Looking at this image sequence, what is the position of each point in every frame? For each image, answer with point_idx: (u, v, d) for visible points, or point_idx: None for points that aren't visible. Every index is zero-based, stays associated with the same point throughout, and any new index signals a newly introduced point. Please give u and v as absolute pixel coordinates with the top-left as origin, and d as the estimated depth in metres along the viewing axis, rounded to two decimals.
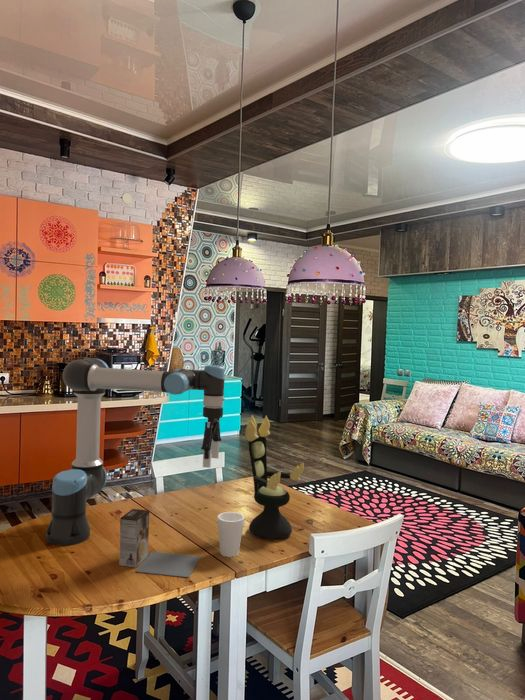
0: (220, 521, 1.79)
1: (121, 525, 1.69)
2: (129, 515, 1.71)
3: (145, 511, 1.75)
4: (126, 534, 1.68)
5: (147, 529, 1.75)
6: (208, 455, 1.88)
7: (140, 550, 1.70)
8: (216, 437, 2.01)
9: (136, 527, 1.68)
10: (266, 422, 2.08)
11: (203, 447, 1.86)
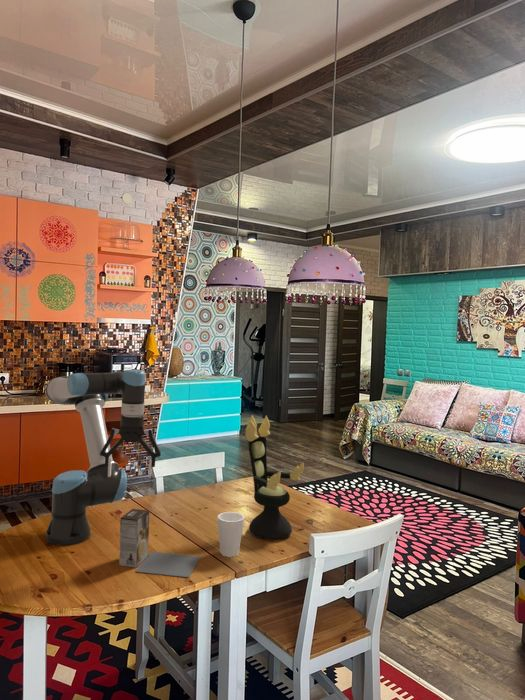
0: (220, 521, 1.79)
1: (122, 525, 1.69)
2: (129, 515, 1.71)
3: (145, 511, 1.75)
4: (126, 534, 1.68)
5: (147, 529, 1.75)
6: (106, 463, 1.77)
7: (140, 550, 1.70)
8: None
9: (136, 527, 1.68)
10: (266, 422, 2.08)
11: None
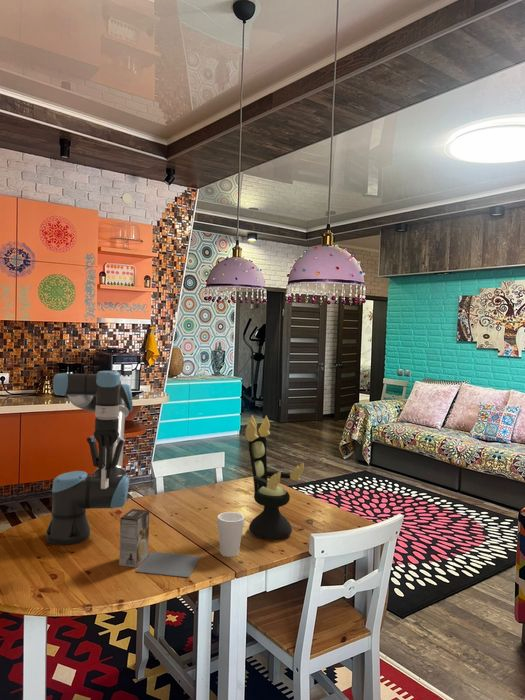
0: (220, 521, 1.79)
1: (122, 525, 1.69)
2: (129, 515, 1.71)
3: (145, 511, 1.75)
4: (126, 534, 1.68)
5: (147, 529, 1.75)
6: (100, 474, 1.73)
7: (140, 550, 1.70)
8: None
9: (136, 527, 1.68)
10: (266, 422, 2.08)
11: None
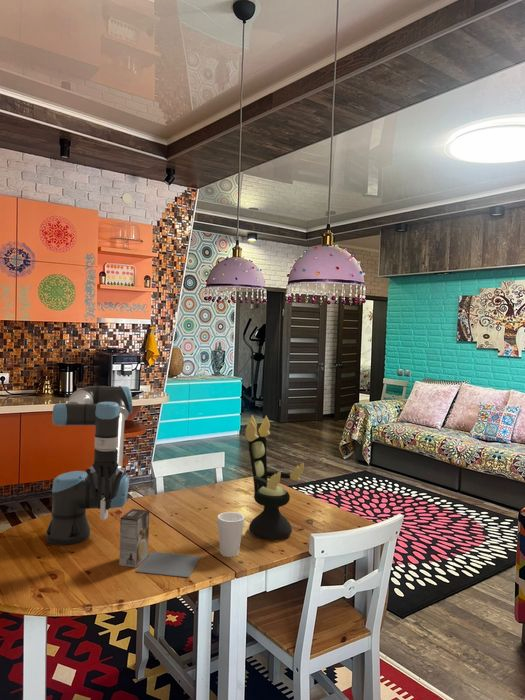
0: (220, 521, 1.79)
1: (122, 525, 1.69)
2: (129, 515, 1.71)
3: (145, 511, 1.75)
4: (126, 534, 1.69)
5: (147, 529, 1.75)
6: (99, 505, 1.73)
7: (140, 550, 1.70)
8: None
9: (136, 527, 1.68)
10: (266, 422, 2.08)
11: None
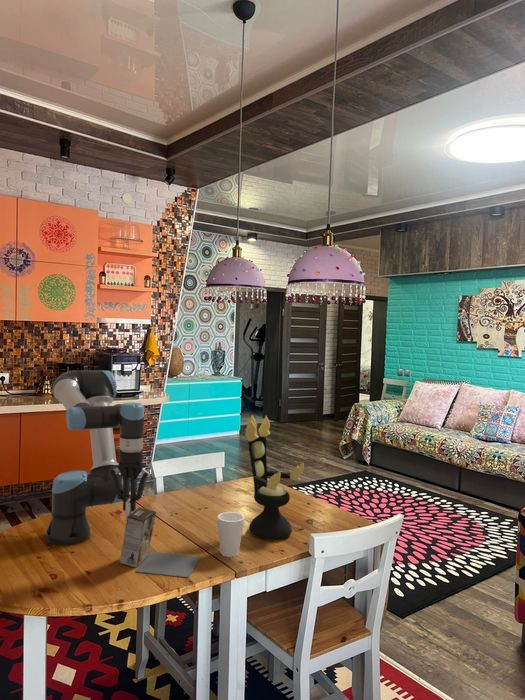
0: (220, 521, 1.79)
1: (127, 524, 1.68)
2: (136, 514, 1.70)
3: (152, 512, 1.75)
4: (131, 533, 1.68)
5: (151, 530, 1.75)
6: (124, 507, 1.72)
7: (142, 550, 1.70)
8: None
9: (142, 528, 1.67)
10: (266, 422, 2.08)
11: None
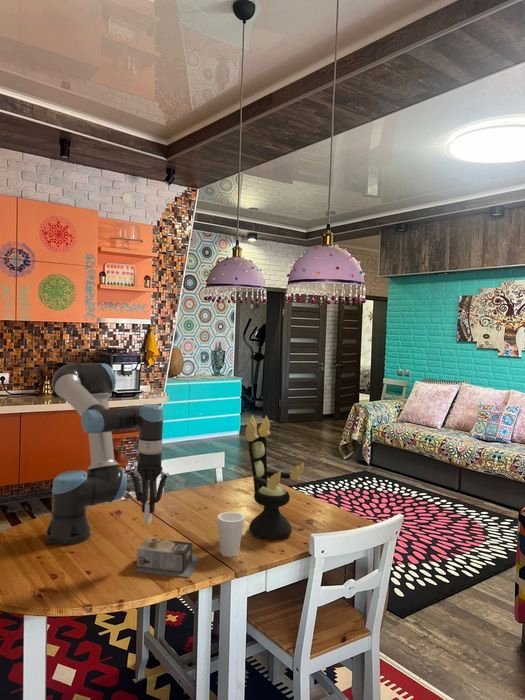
0: (220, 521, 1.79)
1: (176, 555, 1.66)
2: (186, 556, 1.68)
3: (191, 559, 1.73)
4: (168, 559, 1.66)
5: None
6: (143, 509, 1.71)
7: None
8: None
9: (176, 570, 1.66)
10: (266, 422, 2.08)
11: None
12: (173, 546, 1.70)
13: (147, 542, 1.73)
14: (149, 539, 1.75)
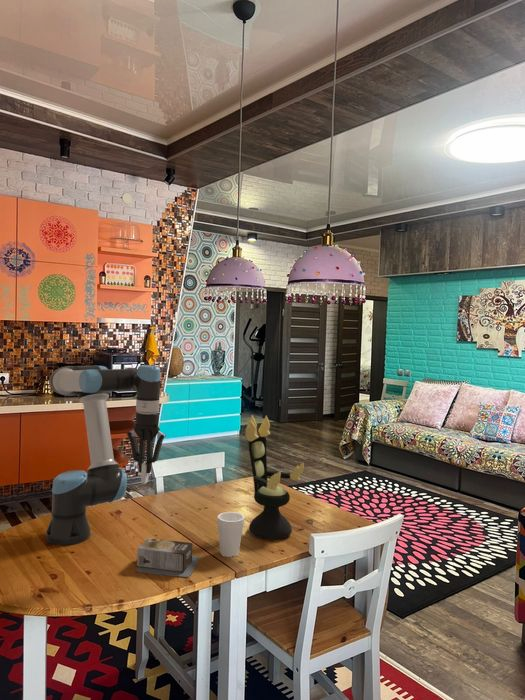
0: (220, 521, 1.79)
1: (176, 554, 1.66)
2: (186, 555, 1.68)
3: (191, 560, 1.73)
4: (168, 558, 1.66)
5: None
6: (140, 469, 1.72)
7: None
8: None
9: (176, 570, 1.66)
10: (266, 422, 2.08)
11: None
12: (173, 546, 1.70)
13: (148, 542, 1.73)
14: (149, 539, 1.75)
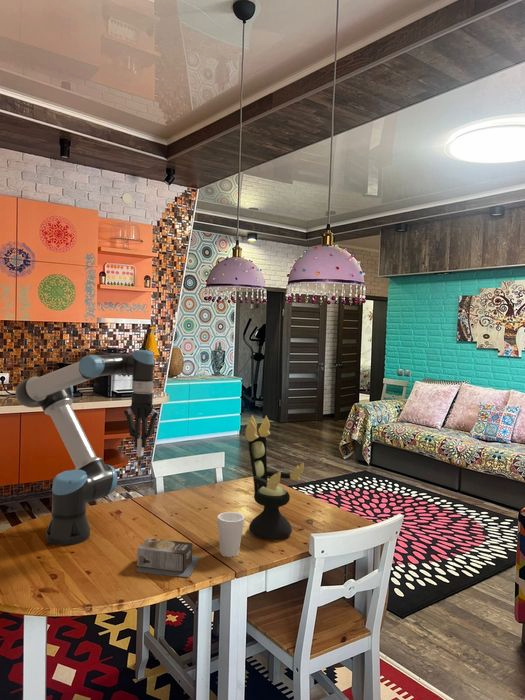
0: (220, 521, 1.79)
1: (176, 554, 1.66)
2: (186, 555, 1.68)
3: (191, 560, 1.73)
4: (168, 558, 1.66)
5: None
6: (136, 443, 1.91)
7: None
8: None
9: (176, 570, 1.66)
10: (266, 422, 2.08)
11: None
12: (173, 546, 1.70)
13: (148, 542, 1.73)
14: (149, 539, 1.75)
